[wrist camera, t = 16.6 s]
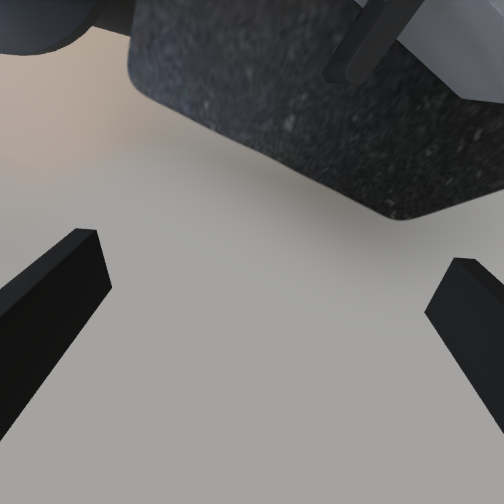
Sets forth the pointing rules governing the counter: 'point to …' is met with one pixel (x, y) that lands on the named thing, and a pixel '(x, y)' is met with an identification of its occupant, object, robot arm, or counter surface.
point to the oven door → (429, 43)
